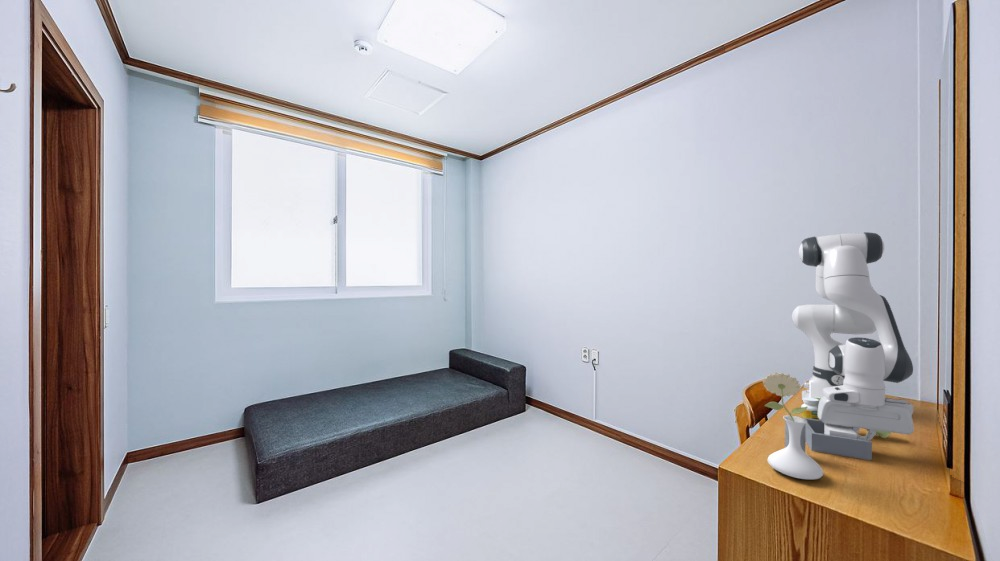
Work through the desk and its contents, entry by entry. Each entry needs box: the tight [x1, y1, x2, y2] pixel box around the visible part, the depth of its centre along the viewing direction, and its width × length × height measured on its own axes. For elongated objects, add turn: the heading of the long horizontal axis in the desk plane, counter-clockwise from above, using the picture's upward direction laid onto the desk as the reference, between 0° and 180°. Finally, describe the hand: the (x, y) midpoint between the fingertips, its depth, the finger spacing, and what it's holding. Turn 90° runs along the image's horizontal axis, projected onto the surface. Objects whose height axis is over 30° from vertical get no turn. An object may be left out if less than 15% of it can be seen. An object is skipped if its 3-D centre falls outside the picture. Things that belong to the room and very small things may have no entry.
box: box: [800, 416, 873, 461], centre depth 113 cm, size 14×13×5 cm
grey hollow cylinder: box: [784, 420, 806, 453], centre depth 107 cm, size 4×4×10 cm
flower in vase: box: [762, 372, 824, 480], centre depth 98 cm, size 13×11×25 cm
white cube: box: [824, 423, 857, 439], centre depth 111 cm, size 6×6×6 cm
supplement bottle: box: [800, 397, 820, 420], centre depth 126 cm, size 5×5×10 cm
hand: (862, 443), depth 110 cm, fingers closed
